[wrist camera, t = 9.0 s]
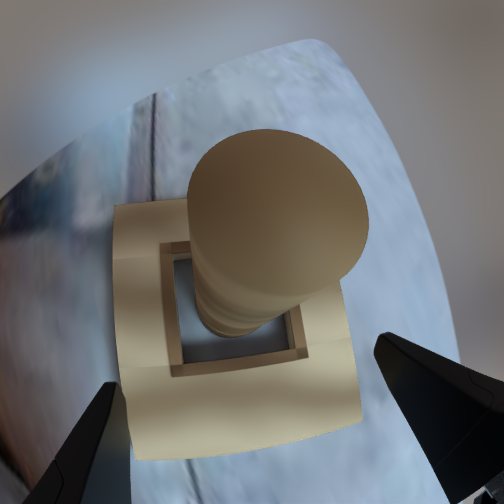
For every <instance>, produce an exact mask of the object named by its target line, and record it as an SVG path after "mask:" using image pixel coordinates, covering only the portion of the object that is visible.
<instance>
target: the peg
mask: <svg viewBox="0 0 504 504" xmlns="http://www.w3.org/2000/svg"><path fill="white" fill-rule="evenodd" d="M187 212H188V224H189V236H190V247H191V258H192V268H193V277H194V286H195V302H196V307H197V311H198V315H199V318H200V320H201V322H202V324H203V325H204V326H205V327H206V329H208V330H209V331H210V332H211V333H213V334H215V335H217V336H219V337H223V338H237V337H241V336H243V335H245V334H248V333H251V332H253V331H255V330H256V329H258V328H259V327H261V326H262V325H264V324H265V323H267V322H269V321H271V320H273V319H274V318H276V317H278V316H280V315H281V314H283V313H285V312H287V311H288V310H290V309H292V308H294V307H295V306H297V305H299V304H300V303H302V302H304V301H306V300H307V299H309V298H311V297H312V296H314V295H316V294H317V293H319V292H321V291H322V290H324V289H326V288H327V287H329V286H331V285H332V284H334V283H335V282H337V281H339V280H340V279H341V278H342V277H344V276H345V275H346V274H347V273H348V272H349V271H350V270H351V269H352V268H353V267H354V266H355V264H356V263H357V261H358V260H359V258H360V256H361V254H362V252H363V250H364V248H365V244H366V241H367V236H368V229H369V217H368V210H367V205H366V201H365V197H364V195H363V192H362V190H361V188H360V186H359V184H358V182H357V180H356V179H355V177H354V176H353V174H352V173H351V171H350V170H349V169H348V168H347V166H346V165H345V164H344V163H343V162H342V161H341V160H340V159H339V158H338V157H337V156H336V155H335V154H333V153H332V152H331V151H329V150H328V149H327V148H325V147H324V146H322V145H320V144H319V143H317V142H315V141H313V140H311V139H309V138H307V137H304V136H301V135H299V134H295V133H292V132H288V131H282V130H272V129H259V130H251V131H246V132H242V133H238V134H235V135H233V136H230V137H228V138H226V139H224V140H222V141H221V142H219V143H218V144H216V145H215V146H214V147H212V148H211V149H210V150H209V151H208V152H207V153H206V154H205V155H204V156H203V157H202V158H201V160H200V161H199V163H198V164H197V166H196V168H195V169H194V171H193V173H192V176H191V179H190V182H189V187H188V192H187Z"/></svg>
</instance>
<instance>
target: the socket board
mask: <svg viewBox="0 0 504 504" xmlns="http://www.w3.org/2000/svg"><path fill="white" fill-rule="evenodd" d="M184 259H192V258H191V247H190V236H189V224H188V212H187V198H184V199H172V200H161V201H151V202H141V203H132V204H123V205H114V221H113V302H114V320H115V333H116V344H117V354H118V363H119V371H120V379H121V386H122V392H123V394H124V396H125V399H126V406H127V418H128V427H129V432H130V436H131V441H132V445H133V450H134V454H135V458H136V460H176V459H191V458H202V457H212V456H220V455H228V454H235V453H241V452H247V451H253V450H258V449H264V448H269V447H274V446H278V445H283V444H287V443H291V442H295V441H299V440H303V439H307V438H311V437H315V436H318V435H322V434H325V433H328V432H332V431H335V430H338V429H341V428H344V427H347V426H350V425H353V424H356V423H359V422H362V421H363V415H362V407H361V400H360V392H359V385H358V378H357V372H356V365H355V359H354V353H353V347H352V342H351V336H350V331H349V325H348V320H347V315H346V310H345V305H344V300H343V295H342V290H341V286H340V281H337V282H335V283H334V284H332V285H331V286H329V287H327V288H326V289H324V290H322V291H321V292H319V293H317V294H316V295H314V296H312V297H311V298H309V299H307V300H306V301H304V302H302V303H300V304H299V305H297V306H295V307H294V308H292V309H290V310H288V311H287V312H285V313H283V314H284V320H285V326H286V332H287V338H288V344H289V349H288V350H283V351H277V352H271V353H265V354H259V355H252V356H245V357H238V358H231V359H223V360H215V361H206V362H197V363H186V364H184V359H183V352H182V344H181V336H180V327H179V318H178V308H177V298H176V287H175V275H174V262H173V260H184Z"/></svg>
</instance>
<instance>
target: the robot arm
mask: <svg viewBox="0 0 504 504" xmlns="http://www.w3.org/2000/svg"><path fill="white" fill-rule="evenodd" d="M374 357H375V359H376V361H377V364H378V366H379V368H380V370H381V373H382V375H383V377H384V379H385V382H386V384H387V386H388V388H389V390H390V392H391V394H392V395H393V397H394V399H395V400H396V402H397V404H398V406H399V408H400V409H401V411H402V413H403V415H404V416H405V418H406V420H407V422H408V424H409V425H410V427H411V429H412V431H413V433H414V434H415V436H416V438H417V440H418V442H419V444H420V446H421V447H422V449H423V451H424V453H425V455H426V457H427V459H428V461H429V463H430V464H431V466H432V468H433V470H434V472H435V474H436V476H437V478H438V480H439V482H440V484H441V486H442V488H443V490H444V492H445V494H446V496H447V498H448V500H449V502H450V504H458V503H459V502H461V501H463V500H464V499H466V498H467V497H469V496H470V495H471V494H473V493H474V492H476V491H477V490H479V489H480V488H481V487H484V488H485V490H484V491H483V492H482V493H481V494H480V495H479V496H477V497H476V498H475V499H474V504H504V382H503V381H500V380H497V379H494V378H492V377H489V376H486V375H483V374H481V373H479V372H476V371H474V370H472V369H470V368H467V367H465V366H463V365H461V364H458V363H456V362H454V361H452V360H450V359H447V358H445V357H443V356H441V355H439V354H436V353H434V352H432V351H430V350H428V349H425V348H423V347H421V346H419V345H417V344H415V343H412V342H410V341H408V340H406V339H404V338H402V337H399V336H397V335H395V334H393V333H391V332H386V333H382V334H380V335H379V336H378V338H377V341H376V344H375V348H374ZM22 504H131V482H130V439H129V429H128V418H127V406H126V399H125V396H124V394H123V392H122V390H121V388H120V386H119V384H118V383H117V382H115V381H114V382H105V383H104V384H103V385H102V387H101V388H100V390H99V391H98V392H97V394H96V395H95V397H94V398H93V400H92V401H91V403H90V404H89V406H88V407H87V409H86V410H85V412H84V413H83V415H82V416H81V418H80V419H79V421H78V422H77V424H76V425H75V427H74V428H73V430H72V431H71V433H70V434H69V436H68V437H67V439H66V440H65V442H64V444H63V445H62V447H61V448H60V450H59V451H58V453H57V455H56V456H55V460H53V461H52V462H51V464H50V466H49V467H48V469H47V470H46V472H45V473H44V475H43V476H42V478H41V479H40V480H39V482H38V483H37V485H36V486H35V487H34V489H33V490H32V491H31V492H30V494H29V495H28V496H27V497H26V499H25V500H24V501H23V502H22Z"/></svg>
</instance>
